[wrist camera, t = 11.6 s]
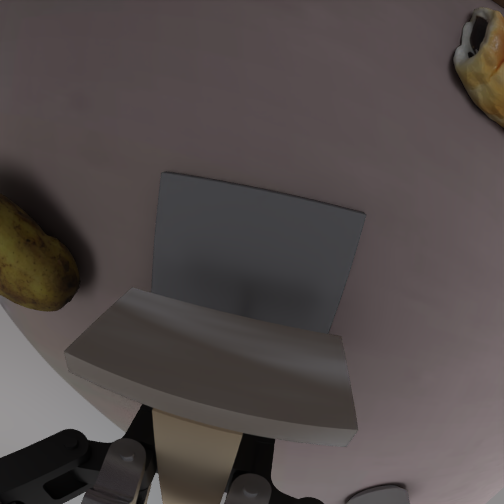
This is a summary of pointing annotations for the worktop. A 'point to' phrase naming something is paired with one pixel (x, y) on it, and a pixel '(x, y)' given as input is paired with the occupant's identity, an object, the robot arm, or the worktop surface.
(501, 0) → the rail
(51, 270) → the potato
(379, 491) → the can
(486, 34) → the pastry
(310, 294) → the mat
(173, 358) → the scraper
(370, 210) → the worktop surface
